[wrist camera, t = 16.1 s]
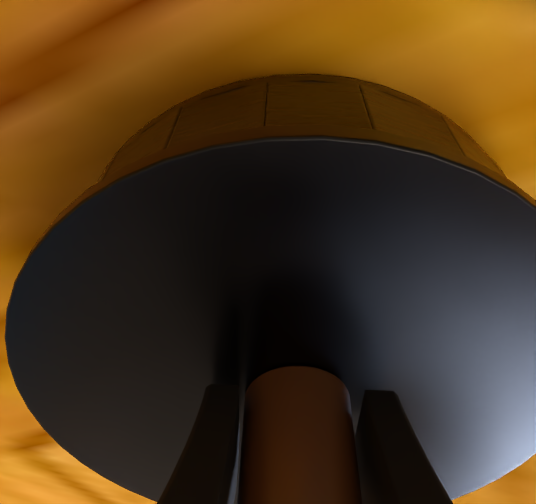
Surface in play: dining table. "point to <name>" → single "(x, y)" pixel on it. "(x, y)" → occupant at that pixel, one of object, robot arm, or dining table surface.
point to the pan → (298, 115)
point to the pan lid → (285, 310)
